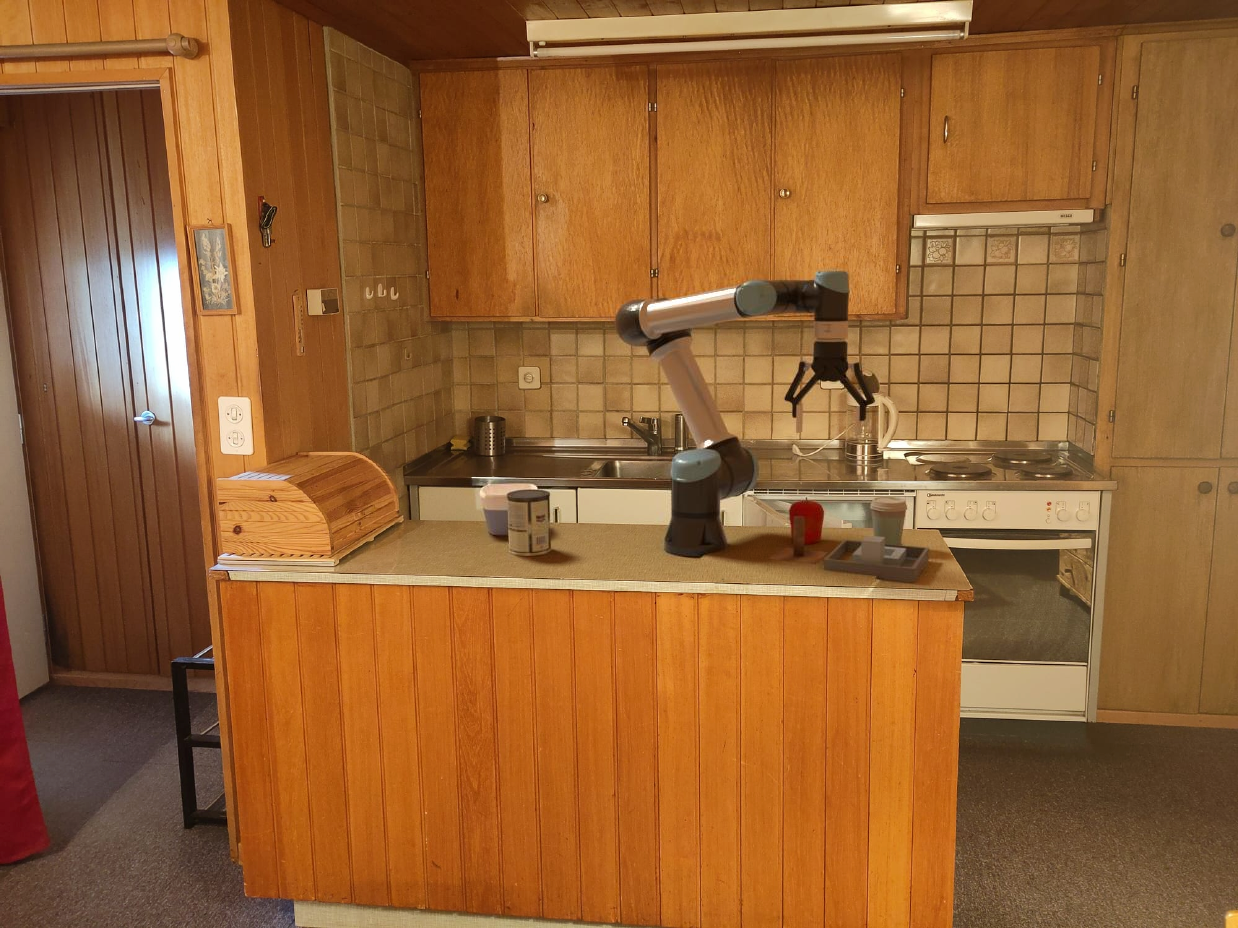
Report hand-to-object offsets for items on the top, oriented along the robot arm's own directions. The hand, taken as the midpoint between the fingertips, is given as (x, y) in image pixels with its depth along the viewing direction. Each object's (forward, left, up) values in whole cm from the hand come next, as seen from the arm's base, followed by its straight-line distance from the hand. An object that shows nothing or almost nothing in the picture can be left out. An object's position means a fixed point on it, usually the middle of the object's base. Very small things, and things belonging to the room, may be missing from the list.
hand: (828, 433), depth 238 cm
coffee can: (-66, -23, -29) cm, 76 cm away
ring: (+13, -5, -28) cm, 31 cm away
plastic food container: (-81, -7, -29) cm, 86 cm away
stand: (-5, -5, -29) cm, 30 cm away
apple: (-7, +9, -29) cm, 31 cm away
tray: (+13, -5, -29) cm, 32 cm away
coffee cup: (+12, +12, -29) cm, 34 cm away
